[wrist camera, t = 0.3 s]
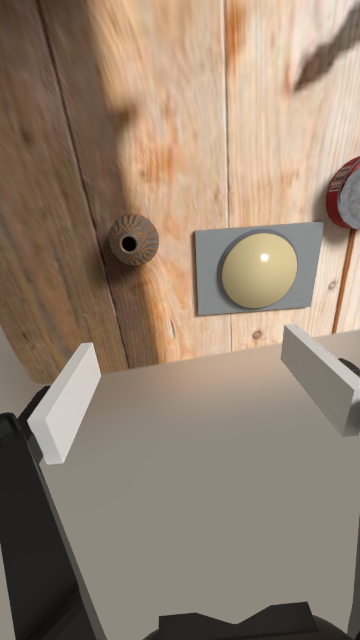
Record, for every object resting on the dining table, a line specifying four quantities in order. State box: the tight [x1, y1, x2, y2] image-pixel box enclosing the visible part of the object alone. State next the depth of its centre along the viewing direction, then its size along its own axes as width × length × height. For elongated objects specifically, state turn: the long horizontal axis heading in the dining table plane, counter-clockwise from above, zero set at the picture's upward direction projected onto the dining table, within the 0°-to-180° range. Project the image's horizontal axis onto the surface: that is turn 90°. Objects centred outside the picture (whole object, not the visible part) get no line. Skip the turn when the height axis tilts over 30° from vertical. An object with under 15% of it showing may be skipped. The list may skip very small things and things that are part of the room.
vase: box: [109, 214, 159, 266], centre depth 33 cm, size 7×7×9 cm
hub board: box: [195, 221, 325, 315], centre depth 39 cm, size 14×20×2 cm
